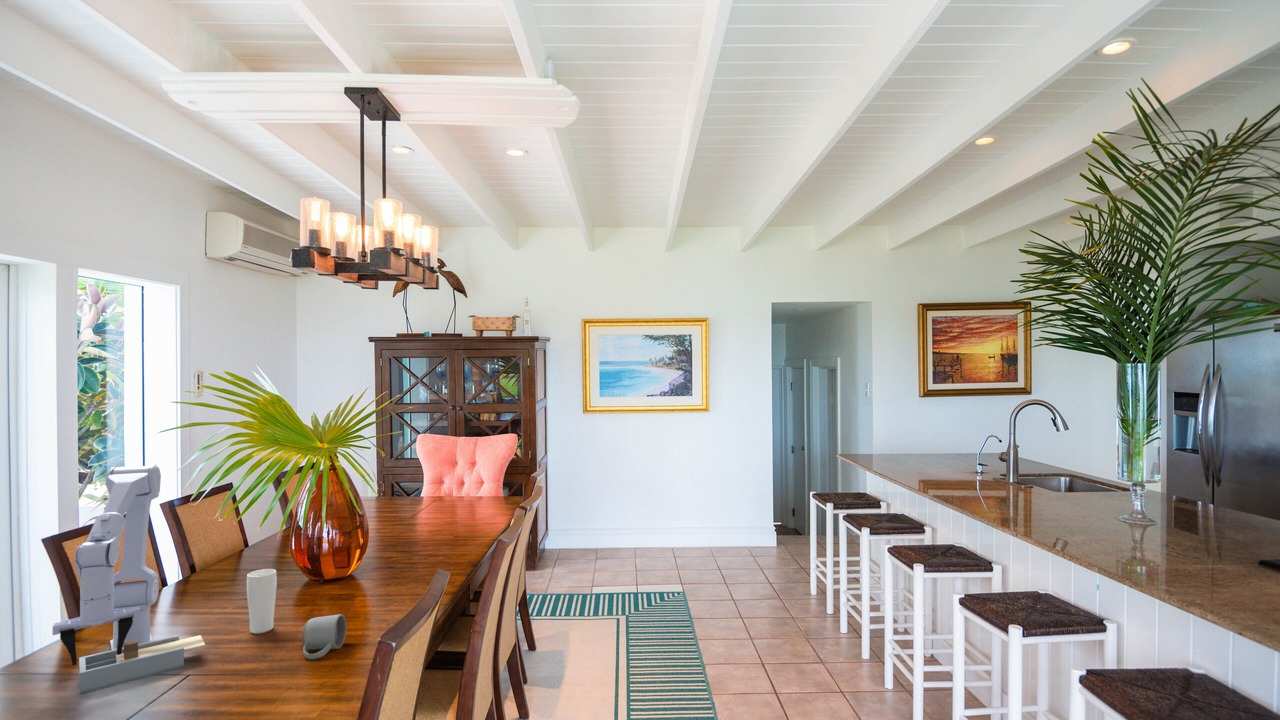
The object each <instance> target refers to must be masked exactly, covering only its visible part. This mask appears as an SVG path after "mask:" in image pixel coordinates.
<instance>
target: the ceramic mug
mask: <svg viewBox="0 0 1280 720" xmlns="http://www.w3.org/2000/svg"><path fill="white" fill-rule="evenodd" d="M301 633H302V634H301V641H302V645H303V649H302V650H303V655H304V657H305V658H306V659H308V660H317V658H318V659H319V658H322V657H324V656H325V655H327V654H328V653H329V651H330V650H337V649H340V648H341V647H343V645H344V642H345V640H346V634H347V622H346V618H345V616H344V615H343V614H341V613H339V614H333V615H332V614H331V615H326V616H317V617H313V618H310V619H308V620H306V622H305V624H304V625H303V629H302V632H301ZM308 650H320V651H318V652H316V653H309V652H307V651H308Z"/></svg>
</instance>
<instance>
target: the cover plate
mask: <svg viewBox="0 0 1280 720" xmlns="http://www.w3.org/2000/svg"><path fill="white" fill-rule="evenodd" d="M181 647H184V653H187V652H191V651H194V650H198V649H204V648H206V643H205V641H204V639H203V637H202V635H201V634H199V635H195V636H190V637H186V638H182V639H179V640H177V641H172V642H168V643H164V644H160V645H155V646H151V647H147V648H142V649H138V640H137V639H136V640H131V641H127V642H124V653H121V654H120V655H117V654H116V662H117V663H119V662H123V661H127V660H131V659H135V658H139V657H144V656H148V655H152V654H156V653H160V652H164V651H169V650H173V649H177V648H181Z"/></svg>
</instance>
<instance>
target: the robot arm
mask: <svg viewBox="0 0 1280 720" xmlns="http://www.w3.org/2000/svg"><path fill="white" fill-rule="evenodd" d="M161 478H162V475H161V470H160V467H158V465H156V464H151V465H137V466H120V467H119V466H118V467H117V466H112V467H110V469H109V470H108V471H107V472H106V477H105V486H106V489H107V491H108V495H109V496H108V501H107V504H106V508H105V510H104V513H102V514H100V515H99V516H97V517H96V518H95V520H94V523H93V525H92V527H91V529H90V531H89V533H88V536H87V538H86V541H85V542H83V543H82V544H80V545H78V546H77V548H76V550H75V555H74V566H75V568H76V575H77V578H78V579H79V590H80V591H79V595H80V596H79V597H80V598H79V599H80V600H79V616H77V617H74V618H70V619H67V620H63V621H60V622H54V623H52V636H57V635H59V638H60V641H61V642H62V644H63V645H64V646H65V647H66V649H67V652H68V654H69V656H70V660H71V665H72V666H77V663H78V661H77V648H76V647H77V646H76V634H77V633H76V630H80V629H85V628H90V627H94V626H95V627H96V626H100V625H105V624H110V623H113V625H112V626H113V630H112V631H113V632H112V633H113V634H112V635H113V636H112V639H111V640H109V641H110V649H111V650H115V649H117V655H120V654H121V652H122V648H124V642H127V641H131V640H136V639H137V640H138V644H141V643H146V642H150V641H154V639H153V637H152V633H151V606H153V605H154V604H155V603H156V602H157V599H158V597H159V593H160V592H159V591H160V585H159V575H158V574H157V572H156V571H154V570H153V569H151V568H149V567H147V565H146V562H147V561H146V560H147V559H146V558H147V546H148V533H149V522H150V520H149V519H150V512H151V509H150V508H151V503H152V500H155V499H157V498H158V497H159V496H160V492H161V480H162V479H161ZM124 516H125V517H124ZM123 533H124V534H123ZM122 535H123V543H122V552H121V553H122V556H121V557H122V558H121V565H120V566H121V567H120V570H118V571H117V572H116V573H115V565H116V564H117V562H118V560H119V557H120V548H121V542H120V541H121V538H122ZM131 580H134V581H131ZM124 581H125V582H124ZM126 581H127V582H126ZM111 650H110V651H111Z"/></svg>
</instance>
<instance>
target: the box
mask: <svg viewBox="0 0 1280 720" xmlns="http://www.w3.org/2000/svg"><path fill="white" fill-rule="evenodd" d="M177 640H180V636H179V635H178V634H175V635H173V636H168V637H163V638H159V639H155V640H154V639H153V641H150V642H146V643H141V644H138V649H142V648H147V647H151V646H155V645H160V644H164V643H168V642H172V641H177ZM121 653H124V648H122V652H121ZM116 654H117V649H115V650H107V651H103V652H98V653H93V654H90V655H85V656H84V655H83V656H80V657H78V659H79V661H78V667H79V671H78V672H79V673H78V680H79V681H78V682H79V685H78V687H79V695H83V694H86V692H87V693H90V692H93V691H94V692H95V691H98V690H97V689H99V690H103V689H107V688H110V687H113V686H118V685H121V683H122V684H126V683H128V682H129V681H130V682H133V681H137V680H141V679H145V678H149V677H153V676H156V675H160V674H163V673H168V671H169V672H172V671H176V670H179V669H184V668H185V652H184V647H181V648H177V649H173V650H169V651H164V652H160V653H156V654H152V655H148V656H144V657H139V658H135V659H131V660H127V661H123V662H119V663H117V662H116ZM125 682H126V683H125ZM117 684H118V685H117ZM102 688H103V689H102Z"/></svg>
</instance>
